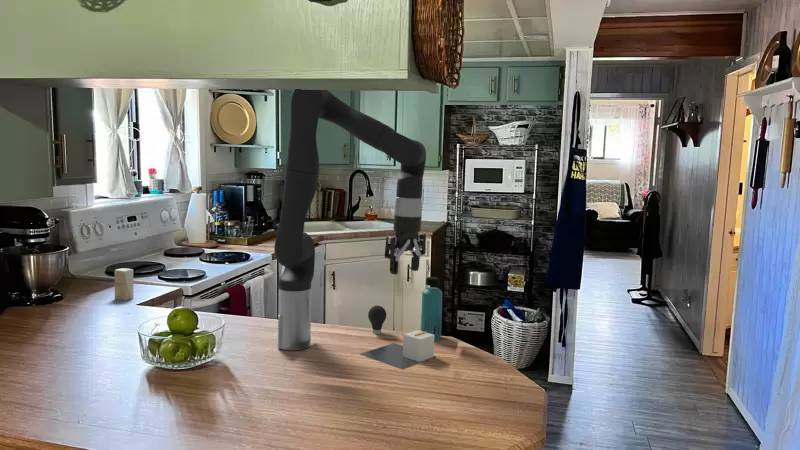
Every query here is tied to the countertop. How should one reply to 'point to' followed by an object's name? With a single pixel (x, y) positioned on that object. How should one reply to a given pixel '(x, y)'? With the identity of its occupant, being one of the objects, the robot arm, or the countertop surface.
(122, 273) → the cream upright cylinder
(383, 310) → the light bulb
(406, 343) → the white box
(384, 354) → the plate
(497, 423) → the countertop surface
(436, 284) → the beverage bottle
